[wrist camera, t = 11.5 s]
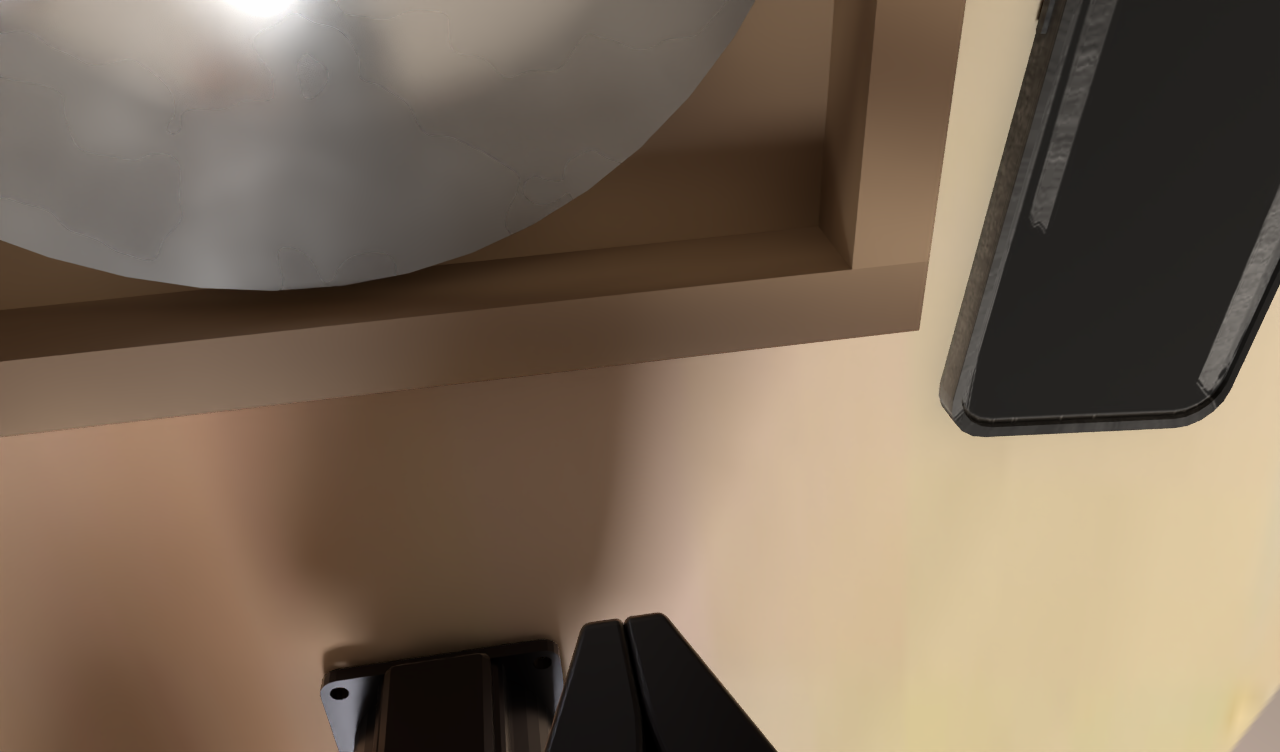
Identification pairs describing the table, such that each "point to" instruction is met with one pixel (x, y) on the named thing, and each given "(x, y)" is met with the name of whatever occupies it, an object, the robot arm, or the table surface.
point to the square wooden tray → (565, 251)
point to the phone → (1125, 222)
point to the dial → (324, 126)
